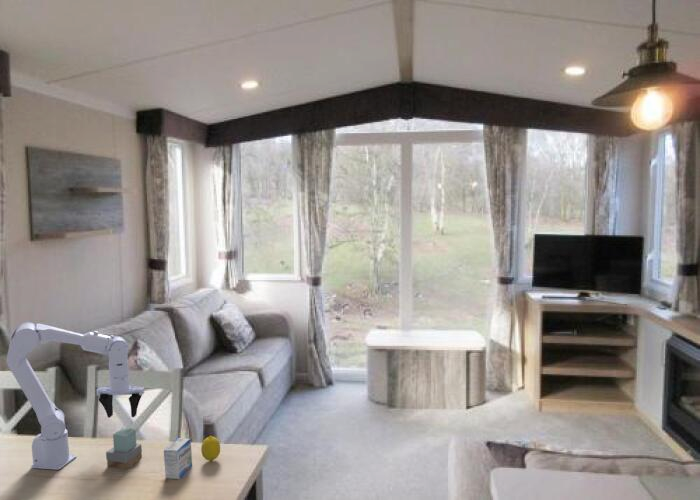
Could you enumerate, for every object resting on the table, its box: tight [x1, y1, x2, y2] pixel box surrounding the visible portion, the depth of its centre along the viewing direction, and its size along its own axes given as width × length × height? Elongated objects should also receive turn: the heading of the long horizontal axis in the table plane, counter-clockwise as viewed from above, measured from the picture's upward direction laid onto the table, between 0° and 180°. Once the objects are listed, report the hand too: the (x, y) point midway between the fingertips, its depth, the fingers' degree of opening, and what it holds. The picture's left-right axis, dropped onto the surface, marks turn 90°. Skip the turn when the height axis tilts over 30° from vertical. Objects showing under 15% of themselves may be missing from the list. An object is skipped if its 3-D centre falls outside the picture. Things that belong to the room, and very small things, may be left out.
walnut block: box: [106, 451, 143, 470], centre depth 161 cm, size 7×7×2 cm
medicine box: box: [163, 437, 193, 480], centre depth 154 cm, size 8×4×9 cm, turn 168°
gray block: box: [105, 443, 143, 463], centre depth 160 cm, size 7×7×2 cm
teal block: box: [112, 427, 137, 452], centre depth 160 cm, size 4×4×5 cm
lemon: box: [200, 435, 221, 462], centre depth 160 cm, size 6×6×8 cm
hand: (122, 416), depth 169 cm, fingers open, 7 cm apart
